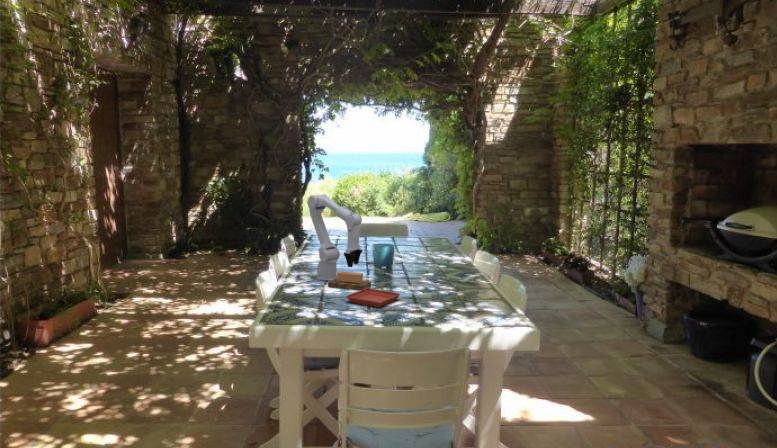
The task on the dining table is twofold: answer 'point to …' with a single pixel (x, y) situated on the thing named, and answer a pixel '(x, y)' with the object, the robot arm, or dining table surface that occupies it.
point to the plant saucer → (373, 297)
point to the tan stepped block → (350, 277)
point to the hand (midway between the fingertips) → (353, 265)
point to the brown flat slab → (349, 285)
